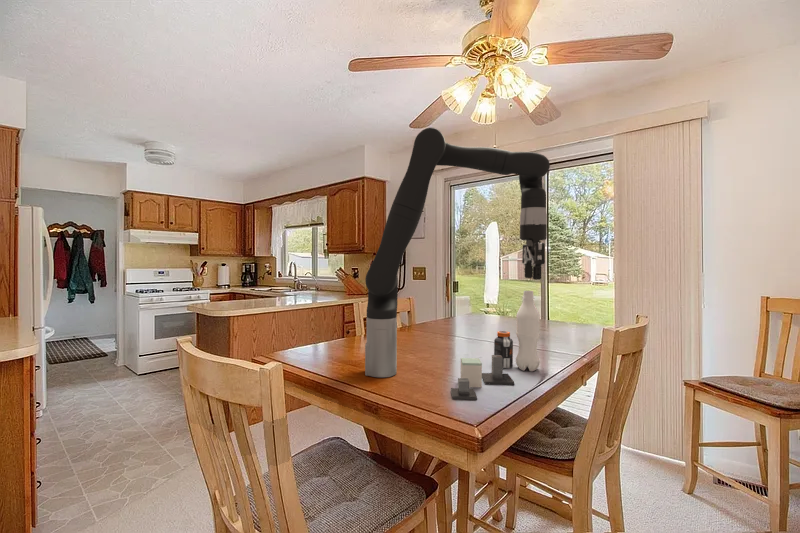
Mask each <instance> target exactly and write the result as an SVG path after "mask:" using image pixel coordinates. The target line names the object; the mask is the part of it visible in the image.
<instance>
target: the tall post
mask: <svg viewBox="0 0 800 533" xmlns="http://www.w3.org/2000/svg"><path fill="white" fill-rule="evenodd" d="M503 370H504V368H503V357H502V356H501V355H494V354H492V355H491V372H490V373H489V372H482V381H483V383H484V385H489V386H491V385H494V386H495V385H496V386H515V381H514V380H513V379H512V377H511V376H510V374H509V373H503Z"/></svg>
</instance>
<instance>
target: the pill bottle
mask: <svg viewBox="0 0 800 533" xmlns="http://www.w3.org/2000/svg"><path fill="white" fill-rule="evenodd" d="M496 336H497V337H495V338H494V340H493V341H494V342H493V344H494V345H493V355H501V356H502V357H503V369H510V368H513V365H514V364H513V363H514V362H513V361H514V360H513V358H514V356H513V355H514V340H513V339H512V338H511V332H509V331H505V330H503V331H502V330H499V331H497V334H496Z"/></svg>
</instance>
